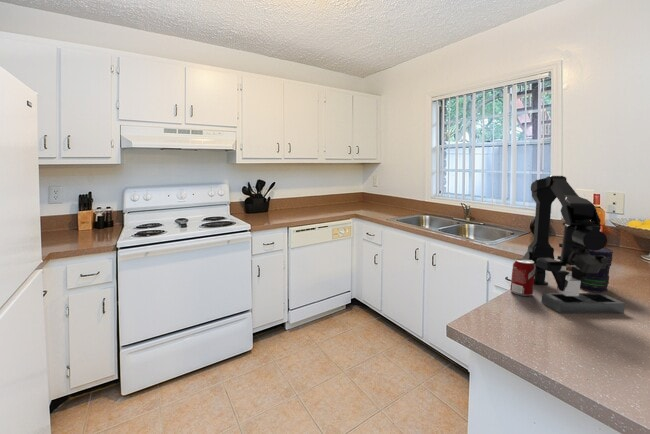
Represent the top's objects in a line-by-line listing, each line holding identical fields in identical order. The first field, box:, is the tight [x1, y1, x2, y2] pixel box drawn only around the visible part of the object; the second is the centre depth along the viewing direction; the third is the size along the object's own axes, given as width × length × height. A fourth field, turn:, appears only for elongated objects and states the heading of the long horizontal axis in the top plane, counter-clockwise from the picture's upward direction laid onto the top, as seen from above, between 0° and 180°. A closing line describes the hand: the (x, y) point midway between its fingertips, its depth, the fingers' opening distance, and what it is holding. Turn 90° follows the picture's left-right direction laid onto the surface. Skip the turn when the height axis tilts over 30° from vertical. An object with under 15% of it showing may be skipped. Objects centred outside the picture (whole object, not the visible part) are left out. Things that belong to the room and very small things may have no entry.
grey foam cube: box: [556, 276, 581, 296], centre depth 99 cm, size 4×4×5 cm
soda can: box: [509, 258, 536, 297], centre depth 111 cm, size 7×7×12 cm
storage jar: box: [580, 247, 614, 293], centre depth 117 cm, size 10×10×15 cm
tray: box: [541, 292, 626, 314], centre depth 100 cm, size 8×20×3 cm, turn 91°
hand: (567, 290), depth 99 cm, fingers closed on grey foam cube, 4 cm apart
